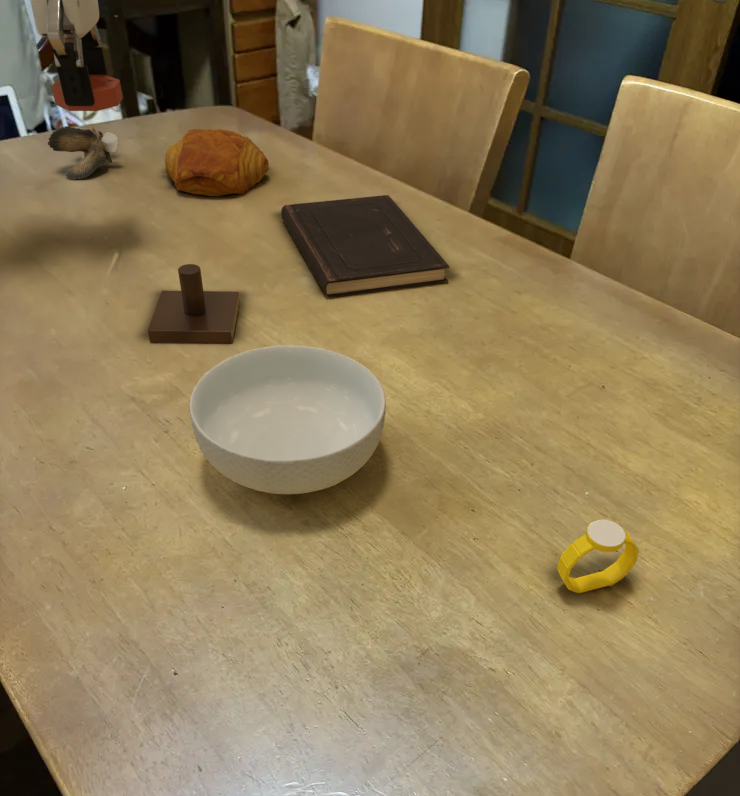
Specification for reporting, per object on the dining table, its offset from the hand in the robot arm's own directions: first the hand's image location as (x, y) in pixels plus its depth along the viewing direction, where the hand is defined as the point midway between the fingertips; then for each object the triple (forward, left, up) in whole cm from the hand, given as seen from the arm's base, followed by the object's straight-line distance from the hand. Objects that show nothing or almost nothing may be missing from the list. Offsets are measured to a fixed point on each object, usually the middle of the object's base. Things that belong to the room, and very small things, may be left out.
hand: (88, 93), depth 88 cm
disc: (0, 0, -1) cm, 1 cm away
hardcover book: (+32, -2, -18) cm, 37 cm away
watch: (+49, -60, -18) cm, 79 cm away
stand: (+13, -21, -18) cm, 30 cm away
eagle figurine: (-10, +25, -18) cm, 33 cm away
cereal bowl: (+25, -45, -18) cm, 54 cm away
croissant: (+10, +21, -18) cm, 30 cm away
